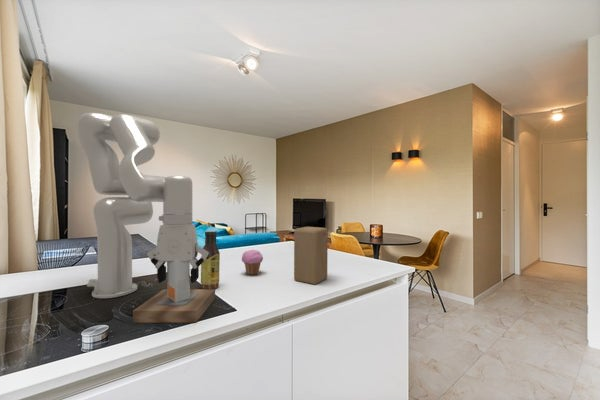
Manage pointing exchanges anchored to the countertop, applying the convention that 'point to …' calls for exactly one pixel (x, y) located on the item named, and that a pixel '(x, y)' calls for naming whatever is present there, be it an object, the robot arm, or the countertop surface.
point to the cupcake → (252, 261)
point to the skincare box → (178, 280)
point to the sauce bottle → (210, 262)
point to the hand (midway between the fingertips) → (178, 281)
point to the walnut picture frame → (174, 308)
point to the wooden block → (310, 254)
